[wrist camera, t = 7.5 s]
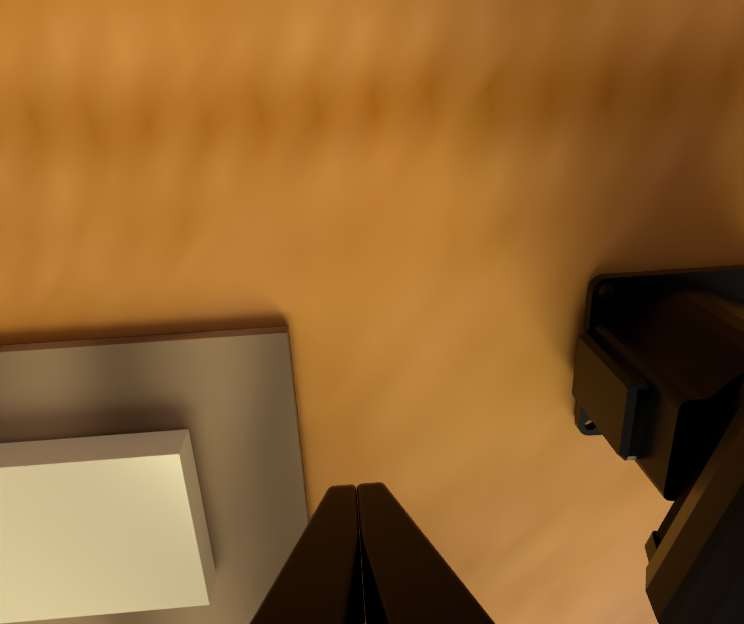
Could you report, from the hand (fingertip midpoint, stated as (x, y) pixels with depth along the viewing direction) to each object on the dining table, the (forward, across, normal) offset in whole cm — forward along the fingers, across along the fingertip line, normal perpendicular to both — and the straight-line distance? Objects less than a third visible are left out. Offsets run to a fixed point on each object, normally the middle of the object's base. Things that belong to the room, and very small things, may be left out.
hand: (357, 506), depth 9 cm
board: (+12, +9, +9) cm, 17 cm away
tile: (+10, +6, +9) cm, 15 cm away
